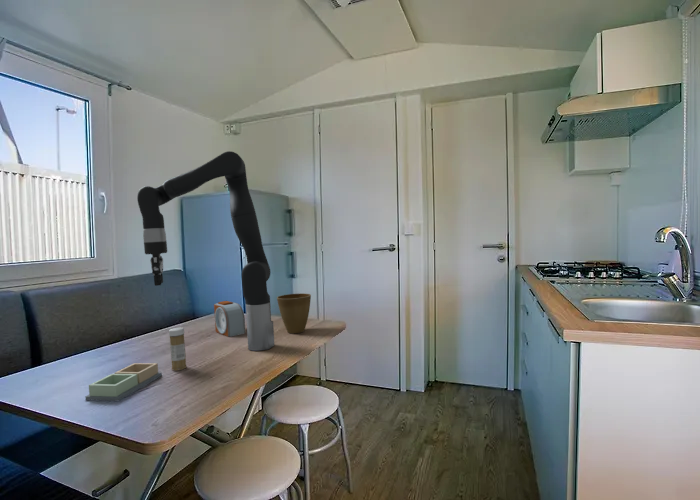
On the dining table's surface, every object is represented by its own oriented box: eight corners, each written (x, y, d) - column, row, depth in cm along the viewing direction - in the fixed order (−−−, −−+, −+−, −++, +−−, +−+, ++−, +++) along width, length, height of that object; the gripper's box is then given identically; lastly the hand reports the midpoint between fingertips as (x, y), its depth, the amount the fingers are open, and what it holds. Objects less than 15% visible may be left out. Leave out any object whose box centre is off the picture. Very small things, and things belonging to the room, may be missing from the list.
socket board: (161, 375, 118) (160, 363, 118) (118, 401, 100) (117, 386, 100) (133, 374, 119) (132, 362, 119) (85, 400, 102) (84, 385, 101)
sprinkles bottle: (186, 365, 126) (183, 326, 126) (186, 369, 122) (184, 329, 122) (171, 367, 125) (168, 328, 124) (171, 372, 120) (168, 331, 120)
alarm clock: (213, 331, 171) (211, 302, 171) (231, 327, 177) (229, 299, 176) (227, 337, 160) (225, 306, 160) (245, 333, 166) (244, 303, 165)
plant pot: (318, 328, 168) (316, 293, 168) (301, 337, 155) (299, 299, 154) (290, 326, 175) (289, 292, 174) (271, 334, 161) (269, 298, 160)
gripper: (165, 240, 133) (169, 285, 134) (167, 240, 146) (171, 281, 147) (141, 241, 130) (145, 287, 131) (145, 241, 143) (149, 283, 144)
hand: (159, 284), depth 139 cm, fingers open, 8 cm apart
